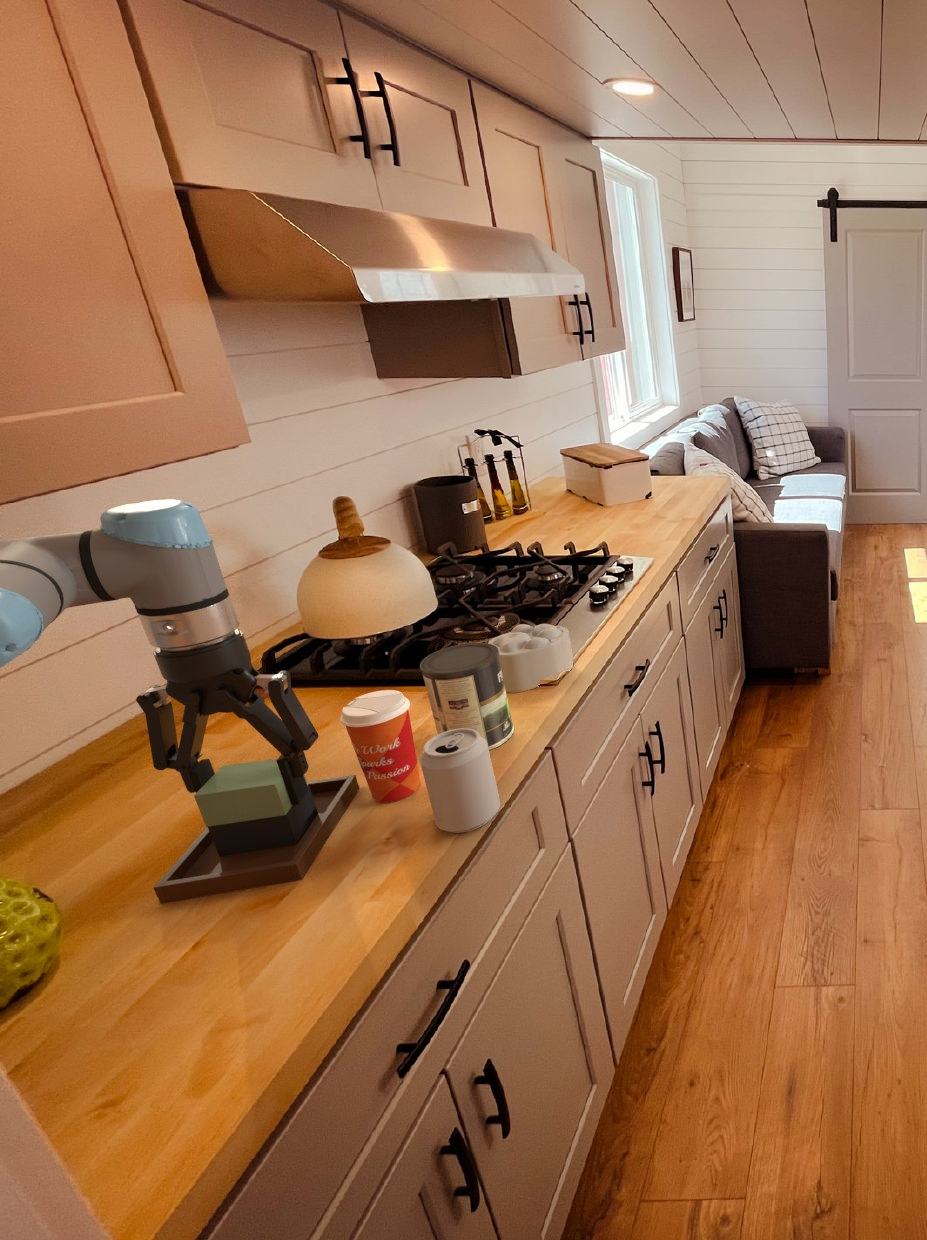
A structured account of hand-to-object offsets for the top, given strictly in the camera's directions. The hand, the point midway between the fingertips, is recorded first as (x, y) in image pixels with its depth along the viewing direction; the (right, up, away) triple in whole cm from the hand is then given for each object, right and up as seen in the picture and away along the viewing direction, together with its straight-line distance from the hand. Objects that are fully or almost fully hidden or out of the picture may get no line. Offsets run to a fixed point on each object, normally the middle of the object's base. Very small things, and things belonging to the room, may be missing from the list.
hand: (259, 803), depth 89 cm
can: (+23, -4, +6) cm, 24 cm away
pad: (0, 0, 0) cm, 0 cm away
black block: (0, -4, +2) cm, 5 cm away
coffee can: (+14, +3, +24) cm, 27 cm away
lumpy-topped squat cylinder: (+13, +10, +43) cm, 46 cm away
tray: (0, -5, +2) cm, 5 cm away
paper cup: (+9, -2, +11) cm, 15 cm away
